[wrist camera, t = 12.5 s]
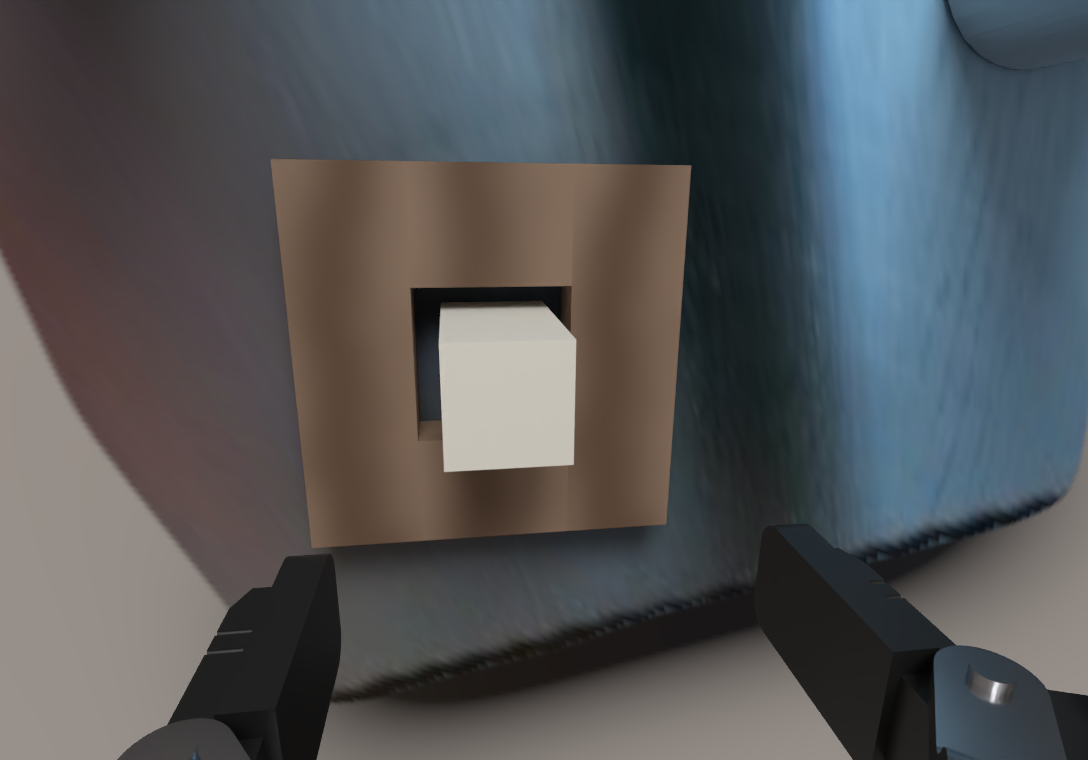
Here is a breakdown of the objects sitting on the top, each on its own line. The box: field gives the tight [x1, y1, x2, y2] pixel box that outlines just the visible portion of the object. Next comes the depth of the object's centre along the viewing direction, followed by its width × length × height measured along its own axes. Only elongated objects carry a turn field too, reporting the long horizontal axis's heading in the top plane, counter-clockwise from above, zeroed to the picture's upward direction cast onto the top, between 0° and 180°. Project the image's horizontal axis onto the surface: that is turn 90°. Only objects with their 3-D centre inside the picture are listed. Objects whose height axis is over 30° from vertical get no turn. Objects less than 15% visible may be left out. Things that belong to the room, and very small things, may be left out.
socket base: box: [271, 159, 691, 548], centre depth 28 cm, size 16×16×2 cm
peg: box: [439, 301, 576, 472], centre depth 25 cm, size 4×4×8 cm
